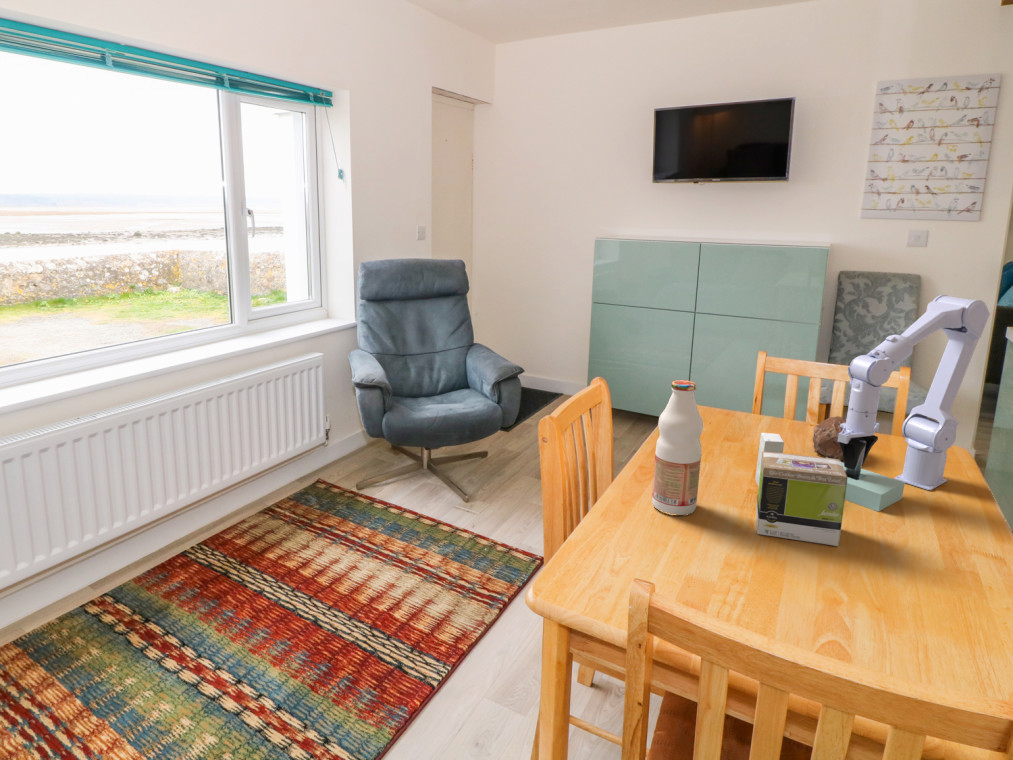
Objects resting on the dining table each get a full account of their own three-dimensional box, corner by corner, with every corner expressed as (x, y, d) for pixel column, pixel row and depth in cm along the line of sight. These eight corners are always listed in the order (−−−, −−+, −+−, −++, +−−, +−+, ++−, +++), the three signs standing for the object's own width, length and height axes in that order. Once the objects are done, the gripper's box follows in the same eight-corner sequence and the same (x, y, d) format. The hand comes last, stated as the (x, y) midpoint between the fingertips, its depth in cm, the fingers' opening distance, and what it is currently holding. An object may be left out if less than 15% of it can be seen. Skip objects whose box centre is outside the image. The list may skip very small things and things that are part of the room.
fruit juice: (657, 517, 138) (667, 389, 130) (646, 497, 147) (655, 376, 140) (701, 517, 138) (714, 389, 131) (688, 497, 147) (699, 376, 140)
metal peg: (848, 474, 153) (855, 436, 150) (861, 479, 150) (869, 440, 148) (841, 477, 151) (849, 439, 148) (854, 482, 149) (862, 443, 146)
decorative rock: (815, 443, 182) (820, 408, 179) (860, 452, 175) (866, 416, 173) (804, 457, 171) (809, 421, 169) (852, 467, 165) (858, 430, 162)
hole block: (824, 472, 162) (826, 457, 161) (901, 498, 148) (904, 482, 147) (799, 483, 155) (802, 467, 154) (878, 511, 141) (881, 494, 140)
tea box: (832, 525, 135) (842, 458, 131) (838, 548, 126) (849, 477, 122) (754, 513, 140) (762, 448, 136) (755, 535, 131) (763, 466, 127)
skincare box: (778, 491, 151) (784, 442, 148) (758, 489, 152) (764, 440, 149) (773, 480, 157) (779, 433, 153) (754, 479, 157) (760, 432, 154)
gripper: (860, 399, 154) (851, 454, 157) (828, 410, 145) (819, 467, 149) (892, 407, 148) (882, 463, 152) (860, 418, 140) (850, 478, 143)
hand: (853, 466), depth 150 cm, fingers closed on metal peg, 3 cm apart
